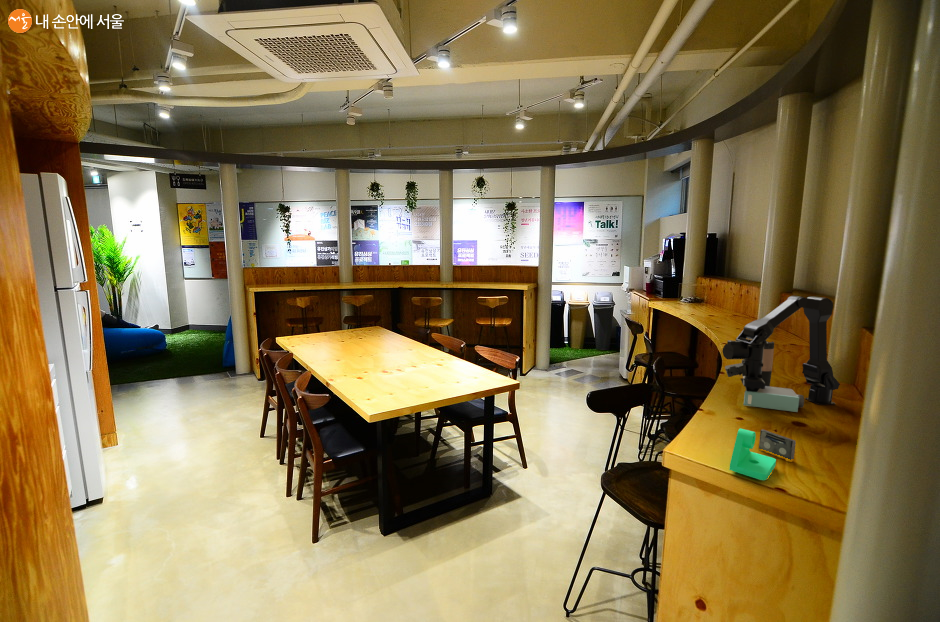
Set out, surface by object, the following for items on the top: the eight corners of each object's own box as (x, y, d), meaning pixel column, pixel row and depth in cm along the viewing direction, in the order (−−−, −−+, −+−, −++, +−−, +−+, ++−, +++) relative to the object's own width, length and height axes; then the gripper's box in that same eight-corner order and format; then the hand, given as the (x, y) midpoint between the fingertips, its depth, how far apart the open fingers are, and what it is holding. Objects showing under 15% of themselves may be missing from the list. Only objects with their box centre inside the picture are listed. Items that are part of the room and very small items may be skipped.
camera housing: (798, 404, 161) (799, 389, 160) (805, 413, 152) (806, 398, 151) (752, 398, 167) (753, 384, 167) (756, 406, 158) (757, 392, 158)
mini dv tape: (793, 461, 117) (795, 440, 116) (790, 462, 116) (792, 441, 116) (761, 449, 124) (763, 428, 124) (758, 450, 124) (760, 429, 123)
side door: (797, 411, 153) (798, 397, 152) (798, 413, 151) (800, 398, 151) (743, 404, 159) (744, 390, 159) (744, 406, 158) (745, 392, 157)
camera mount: (764, 485, 105) (768, 444, 104) (729, 473, 111) (732, 435, 109) (776, 468, 113) (780, 430, 112) (742, 458, 119) (745, 422, 118)
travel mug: (749, 390, 177) (754, 342, 174) (745, 385, 184) (750, 338, 181) (772, 393, 174) (777, 343, 171) (767, 387, 181) (772, 340, 178)
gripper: (725, 351, 170) (721, 389, 172) (729, 362, 154) (725, 404, 156) (759, 354, 165) (755, 393, 168) (767, 365, 149) (762, 409, 151)
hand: (749, 400), depth 161 cm, fingers closed
